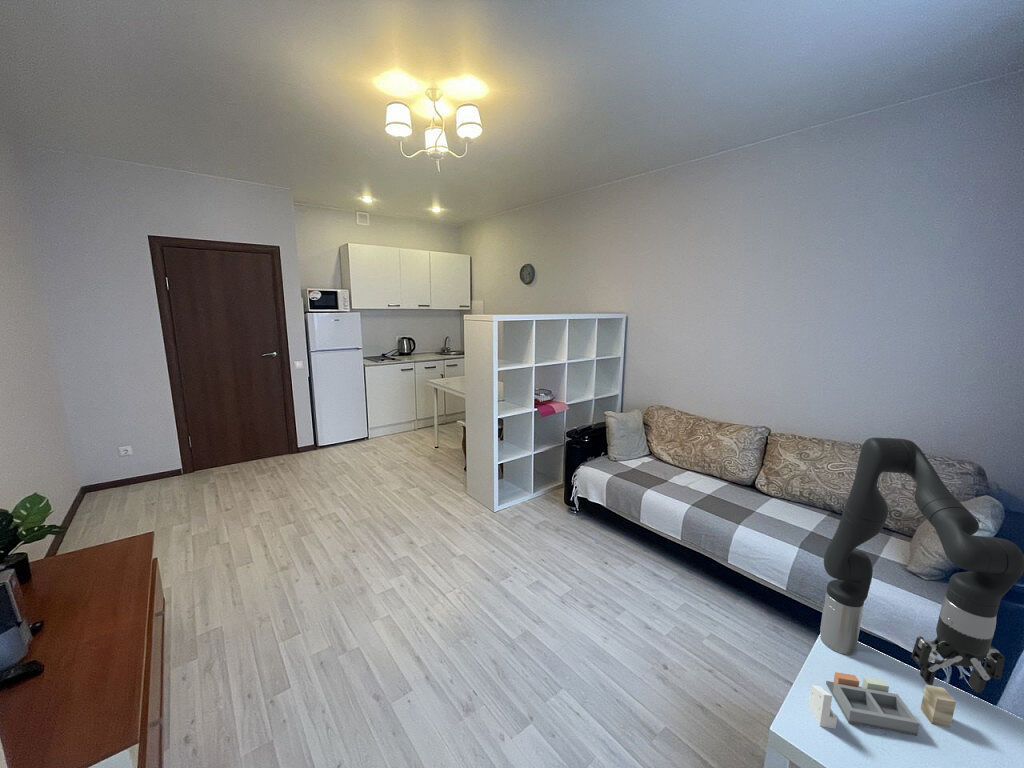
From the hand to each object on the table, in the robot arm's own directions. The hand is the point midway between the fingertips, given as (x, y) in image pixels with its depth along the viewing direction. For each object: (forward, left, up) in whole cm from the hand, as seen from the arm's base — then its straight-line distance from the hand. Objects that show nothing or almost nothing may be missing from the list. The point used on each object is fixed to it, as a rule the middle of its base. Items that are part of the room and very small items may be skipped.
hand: (950, 685), depth 87 cm
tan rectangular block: (-18, +13, -27) cm, 35 cm away
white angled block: (-12, -16, -27) cm, 34 cm away
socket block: (-17, -3, -27) cm, 32 cm away
